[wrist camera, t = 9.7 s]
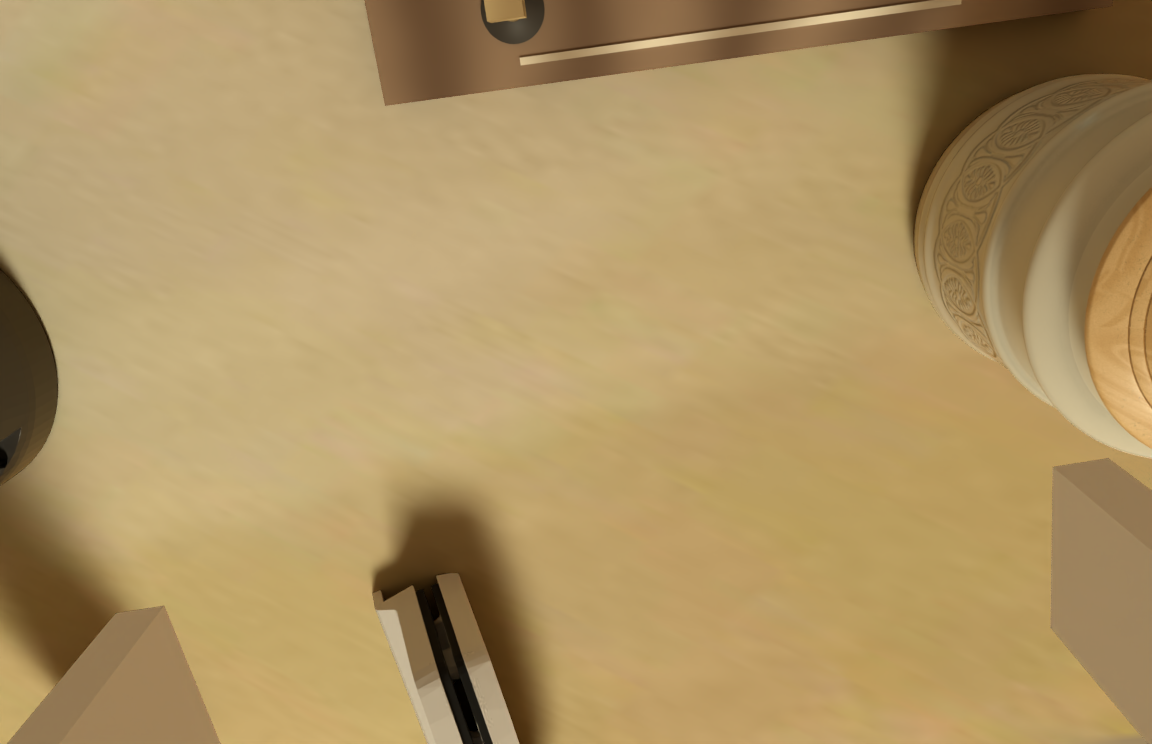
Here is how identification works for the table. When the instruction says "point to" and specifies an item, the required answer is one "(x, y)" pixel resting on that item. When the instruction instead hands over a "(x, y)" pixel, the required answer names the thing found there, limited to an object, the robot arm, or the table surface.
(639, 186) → the table surface
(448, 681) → the hinge
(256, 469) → the table surface
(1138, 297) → the jar
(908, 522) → the table surface
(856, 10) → the gauge board
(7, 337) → the robot arm
